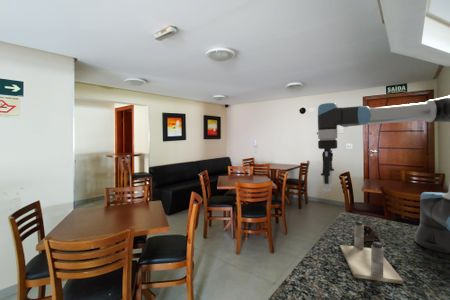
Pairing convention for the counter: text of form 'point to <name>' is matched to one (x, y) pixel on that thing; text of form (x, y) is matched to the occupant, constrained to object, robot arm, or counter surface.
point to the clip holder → (368, 259)
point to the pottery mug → (370, 234)
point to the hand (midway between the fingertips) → (328, 188)
